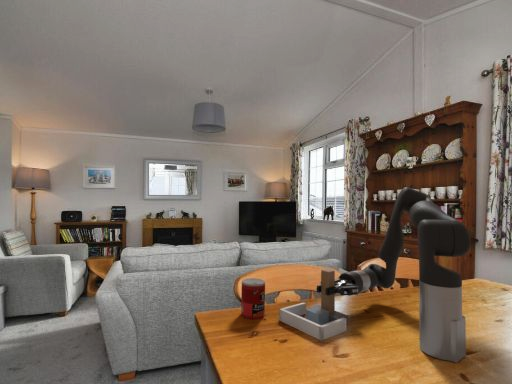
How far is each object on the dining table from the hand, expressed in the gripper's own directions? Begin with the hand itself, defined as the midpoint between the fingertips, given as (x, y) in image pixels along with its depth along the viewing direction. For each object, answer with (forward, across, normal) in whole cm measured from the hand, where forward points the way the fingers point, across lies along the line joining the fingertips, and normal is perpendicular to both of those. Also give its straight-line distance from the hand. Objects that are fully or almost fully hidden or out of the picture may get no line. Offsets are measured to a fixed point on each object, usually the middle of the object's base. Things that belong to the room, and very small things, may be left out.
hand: (322, 290), depth 93 cm
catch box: (+5, 0, +10) cm, 11 cm away
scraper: (-3, 0, +9) cm, 10 cm away
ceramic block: (+2, 0, +10) cm, 10 cm away
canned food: (+14, -17, +10) cm, 24 cm away
